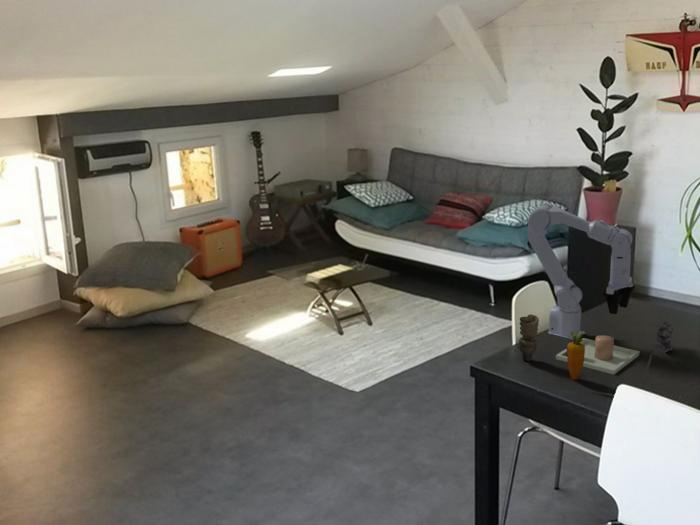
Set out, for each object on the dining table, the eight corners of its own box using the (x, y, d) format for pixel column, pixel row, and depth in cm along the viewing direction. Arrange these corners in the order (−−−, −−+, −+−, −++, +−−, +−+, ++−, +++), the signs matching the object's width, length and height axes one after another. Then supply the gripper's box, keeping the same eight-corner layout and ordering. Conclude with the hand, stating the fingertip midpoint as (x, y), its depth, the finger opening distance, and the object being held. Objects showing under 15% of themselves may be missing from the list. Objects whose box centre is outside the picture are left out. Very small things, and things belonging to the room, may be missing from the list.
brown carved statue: (538, 359, 219) (539, 312, 215) (536, 366, 214) (538, 319, 210) (519, 357, 221) (520, 311, 217) (517, 364, 216) (518, 317, 212)
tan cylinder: (591, 358, 218) (593, 339, 216) (597, 352, 222) (599, 334, 220) (609, 361, 215) (610, 343, 213) (615, 356, 218) (616, 337, 217)
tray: (555, 360, 218) (555, 355, 218) (582, 343, 231) (583, 337, 230) (613, 376, 206) (614, 370, 206) (639, 356, 219) (639, 351, 218)
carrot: (562, 377, 206) (565, 328, 202) (579, 376, 207) (582, 327, 203) (569, 385, 202) (571, 335, 198) (586, 384, 202) (589, 333, 198)
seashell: (675, 354, 219) (678, 323, 217) (656, 354, 220) (658, 323, 218) (671, 348, 224) (674, 317, 222) (652, 347, 225) (655, 317, 223)
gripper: (623, 276, 217) (621, 319, 221) (642, 265, 228) (640, 306, 231) (600, 272, 222) (598, 314, 226) (620, 262, 232) (618, 302, 236)
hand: (618, 310), depth 229 cm, fingers open, 7 cm apart
